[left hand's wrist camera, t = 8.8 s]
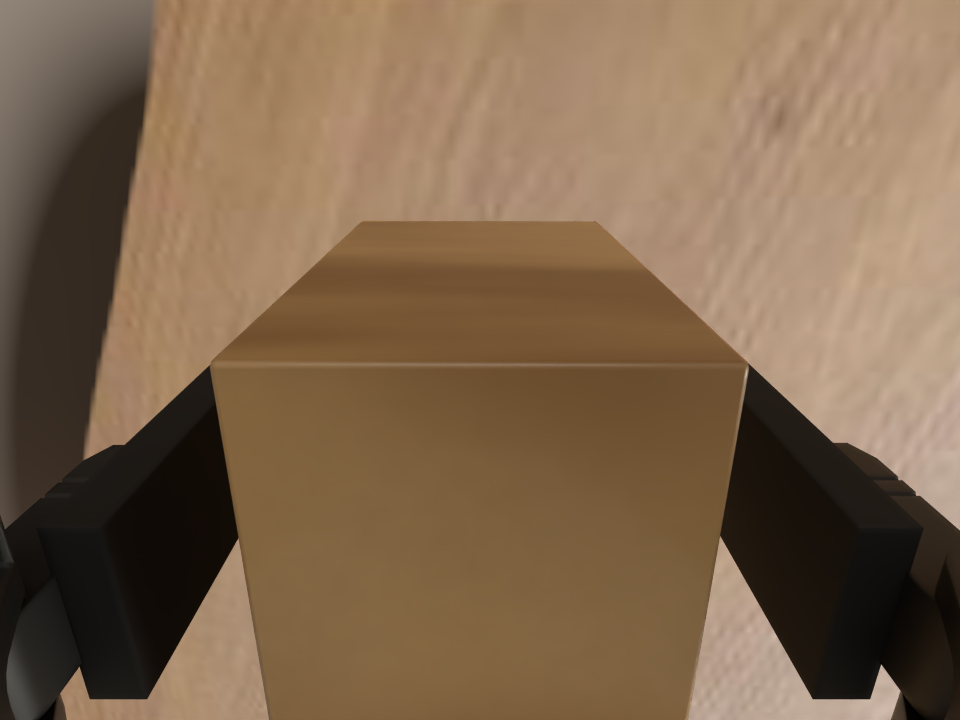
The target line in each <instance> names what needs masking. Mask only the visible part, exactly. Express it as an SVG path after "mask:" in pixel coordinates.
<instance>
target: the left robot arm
mask: <svg viewBox="0 0 960 720" xmlns="http://www.w3.org/2000/svg"><path fill="white" fill-rule="evenodd" d="M748 366H749V372H748V377H747V383H746V389H745V395H744V400H743V406H742V412H741V418H740V423H739V429H738V435H737V441H736V446H735V452H734V458H733V464H732V469H731V475H730V481H729V487H728V492H727V498H726V504H725V510H724V516H723V521H722V527H721V533H720V536H721V538H722V540H723V541H724V543H725V545H726V547H727V548H728V550H729V552H730V554H731V556H732V557H733V559H734V561H735V563H736V564H737V566H738V568H739V570H740V571H741V573H742V575H743V577H744V578H745V580H746V582H747V584H748V586H749V587H750V589H751V591H752V593H753V594H754V596H755V598H756V600H757V601H758V603H759V605H760V607H761V608H762V610H763V612H764V614H765V616H766V617H767V619H768V621H769V623H770V624H771V626H772V628H773V630H774V631H775V633H776V635H777V637H778V638H779V640H780V642H781V644H782V646H783V647H784V649H785V651H786V653H787V654H788V656H789V658H790V660H791V661H792V663H793V665H794V667H795V668H796V670H797V672H798V674H799V676H800V677H801V679H802V681H803V683H804V684H805V686H806V688H807V690H808V691H809V693H810V695H811V697H812V698H813V699H870V698H871V695H872V692H873V688H874V685H875V682H876V679H877V676H878V673H879V669H880V666H881V664H882V666H883V667H884V669H885V670H886V671H887V673H888V674H889V675H890V677H891V678H892V680H893V681H894V682H895V684H896V685H897V686H898V688H899V689H900V691H901V692H900V695H899V698H898V701H897V703H896V706H895V709H894V712H893V715H892V718H891V720H960V530H958V529H957V528H956V527H955V526H954V525H953V524H952V523H950V522H949V521H948V520H947V519H946V518H945V517H944V516H942V515H941V514H940V513H939V512H938V511H937V510H936V509H934V508H933V507H932V506H931V505H930V504H929V503H928V502H926V501H925V500H924V499H923V498H922V497H921V496H916V494H915V493H916V492H915V491H914V490H913V489H912V488H910V487H909V486H908V485H907V484H906V483H905V482H903V481H902V480H898V476H897V475H895V474H894V473H893V472H892V471H891V470H890V469H889V468H887V467H886V466H885V465H884V464H883V463H882V462H881V461H879V460H878V459H877V458H875V457H873V456H871V455H869V454H868V453H866V452H864V451H862V450H860V449H858V448H856V447H854V446H852V445H850V444H848V443H833V442H832V441H830V440H829V439H828V438H827V437H826V436H825V435H824V434H823V433H822V432H821V431H820V430H819V429H818V428H817V427H816V426H814V425H813V424H812V423H811V422H810V421H809V420H808V419H807V418H806V417H805V416H804V415H803V414H802V413H801V412H800V411H798V410H797V409H796V408H795V407H794V406H793V405H792V404H791V403H790V402H789V401H788V400H787V399H786V398H785V397H784V396H782V395H781V394H780V393H779V392H778V391H777V390H776V389H775V388H774V387H773V386H772V385H771V384H770V383H769V382H768V381H766V380H765V379H764V378H763V377H762V376H761V375H760V374H759V373H758V372H757V371H756V370H755V369H754V368H753V367H752V366H750V365H749V364H748ZM238 538H239V537H238V531H237V525H236V519H235V513H234V507H233V501H232V495H231V490H230V484H229V478H228V472H227V466H226V460H225V454H224V448H223V442H222V436H221V430H220V424H219V418H218V412H217V406H216V401H215V395H214V389H213V383H212V377H211V371H210V365H209V366H208V367H207V368H206V369H205V370H204V371H203V372H202V373H201V374H200V375H199V376H198V377H197V378H196V379H195V380H194V381H192V382H191V383H190V384H189V385H188V386H187V387H186V388H185V389H184V390H183V391H182V392H181V393H180V394H179V395H178V396H176V397H175V398H174V399H173V400H172V401H171V402H170V403H169V404H168V405H167V406H166V407H165V408H164V409H163V410H162V411H160V412H159V413H158V414H157V415H156V416H155V417H154V418H153V419H152V420H151V421H150V422H149V423H148V424H147V425H146V426H144V427H143V428H142V429H141V430H140V431H139V432H138V433H137V434H136V435H135V436H134V437H133V438H132V439H131V440H130V441H128V442H127V443H126V444H125V445H112V446H111V447H109V448H107V449H105V450H103V451H101V452H99V453H97V454H95V455H93V456H91V457H90V458H88V459H86V460H84V461H83V462H81V463H80V464H79V465H78V466H77V467H76V468H75V469H73V470H72V471H71V472H70V473H69V474H68V475H67V476H65V477H64V478H63V481H62V483H58V484H56V485H55V486H54V487H53V488H52V489H51V490H50V491H48V492H47V493H46V494H45V498H41V499H39V500H38V501H37V502H36V503H35V504H34V505H33V506H31V507H30V508H29V509H28V510H27V511H26V512H25V513H23V514H22V515H21V516H20V517H19V518H18V519H17V520H15V521H14V522H13V523H12V524H11V525H10V526H9V527H8V528H6V529H5V528H4V525H3V522H2V520H1V516H0V720H67V719H66V713H65V707H64V703H63V701H62V698H61V695H60V693H61V691H62V690H63V689H64V687H65V686H66V684H67V683H68V682H69V680H70V679H71V677H72V676H73V675H74V673H75V672H76V671H77V669H78V668H79V666H80V669H81V673H82V676H83V679H84V682H85V685H86V688H87V692H88V695H89V698H90V699H147V698H148V697H149V695H150V693H151V691H152V690H153V688H154V686H155V684H156V683H157V681H158V679H159V677H160V675H161V674H162V672H163V670H164V668H165V667H166V665H167V663H168V661H169V660H170V658H171V656H172V654H173V653H174V651H175V649H176V647H177V646H178V644H179V642H180V640H181V638H182V637H183V635H184V633H185V631H186V630H187V628H188V626H189V624H190V623H191V621H192V619H193V617H194V616H195V614H196V612H197V610H198V608H199V607H200V605H201V603H202V601H203V600H204V598H205V596H206V594H207V593H208V591H209V589H210V587H211V586H212V584H213V582H214V580H215V578H216V577H217V575H218V573H219V571H220V570H221V568H222V566H223V564H224V563H225V561H226V559H227V557H228V556H229V554H230V552H231V550H232V548H233V547H234V545H235V543H236V541H237V540H238Z"/></svg>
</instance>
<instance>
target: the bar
mask: <svg viewBox="0 0 960 720" xmlns="http://www.w3.org/2000/svg"><path fill="white" fill-rule="evenodd" d="M210 371H211V377H212V383H213V389H214V395H215V401H216V406H217V412H218V418H219V424H220V430H221V436H222V442H223V448H224V454H225V460H226V466H227V472H228V478H229V484H230V490H231V495H232V501H233V507H234V513H235V519H236V525H237V531H238V537H239V543H240V549H241V555H242V561H243V567H244V573H245V579H246V584H247V590H248V596H249V602H250V608H251V614H252V620H253V626H254V632H255V638H256V644H257V650H258V656H259V662H260V668H261V673H262V679H263V685H264V691H265V697H266V703H267V709H268V715H269V720H688V717H689V711H690V706H691V700H692V694H693V688H694V682H695V677H696V671H697V665H698V659H699V654H700V648H701V642H702V636H703V631H704V625H705V619H706V613H707V608H708V602H709V596H710V590H711V585H712V579H713V573H714V567H715V562H716V556H717V550H718V544H719V539H720V533H721V527H722V521H723V516H724V510H725V504H726V498H727V492H728V487H729V481H730V475H731V469H732V464H733V458H734V452H735V446H736V441H737V435H738V429H739V423H740V418H741V412H742V406H743V400H744V395H745V389H746V383H747V377H748V372H749V366H748V362H747V361H746V360H745V359H743V358H742V357H741V356H740V355H739V354H738V353H737V352H736V351H735V350H734V349H733V348H732V347H731V346H730V345H728V344H727V343H726V342H725V341H724V340H723V339H722V338H721V337H720V336H719V335H718V334H717V333H716V332H715V331H713V330H712V329H711V328H710V327H709V326H708V325H707V324H706V323H705V322H704V321H703V320H702V319H701V318H700V317H698V316H697V315H696V314H695V313H694V312H693V311H692V310H691V309H690V308H689V307H688V306H687V305H686V304H685V303H683V302H682V301H681V300H680V299H679V298H678V297H677V296H676V295H675V294H674V293H673V292H672V291H671V290H670V289H668V288H667V287H666V286H665V285H664V284H663V283H662V282H661V281H660V280H659V279H658V278H657V277H656V276H655V275H653V274H652V273H651V272H650V271H649V270H648V269H647V268H646V267H645V266H644V265H643V264H642V263H641V262H640V261H638V260H637V259H636V258H635V257H634V256H633V255H632V254H631V253H630V252H629V251H628V250H627V249H626V248H625V247H623V246H622V245H621V244H620V243H619V242H618V241H617V240H616V239H615V238H614V237H613V236H612V235H611V234H610V233H608V232H607V231H606V230H605V229H604V228H603V227H602V226H601V225H600V224H599V223H597V222H530V221H363V222H361V223H360V224H359V225H358V226H357V227H355V228H354V229H353V230H352V231H351V232H350V233H349V234H348V235H347V236H346V237H345V238H344V239H342V240H341V241H340V242H339V243H338V244H337V245H336V246H335V247H334V248H333V249H332V250H331V251H330V252H328V253H327V254H326V255H325V256H324V257H323V258H322V259H321V260H320V261H319V262H318V263H317V264H316V265H314V266H313V267H312V268H311V269H310V270H309V271H308V272H307V273H306V274H305V275H304V276H303V277H302V278H300V279H299V280H298V281H297V282H296V283H295V284H294V285H293V286H292V287H291V288H290V289H289V290H288V291H286V292H285V293H284V294H283V295H282V296H281V297H280V298H279V299H278V300H277V301H276V302H275V303H274V304H272V305H271V306H270V307H269V308H268V309H267V310H266V311H265V312H264V313H263V314H262V315H261V316H259V317H258V318H257V319H256V320H255V321H254V322H253V323H252V324H251V325H250V326H249V327H248V328H247V329H245V330H244V331H243V332H242V333H241V334H240V335H239V336H238V337H237V338H236V339H235V340H234V341H233V342H231V343H230V344H229V345H228V346H227V347H226V348H225V349H224V350H223V351H222V352H221V353H220V354H219V355H217V356H216V357H215V358H214V359H213V360H212V361H211V365H210Z"/></svg>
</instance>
